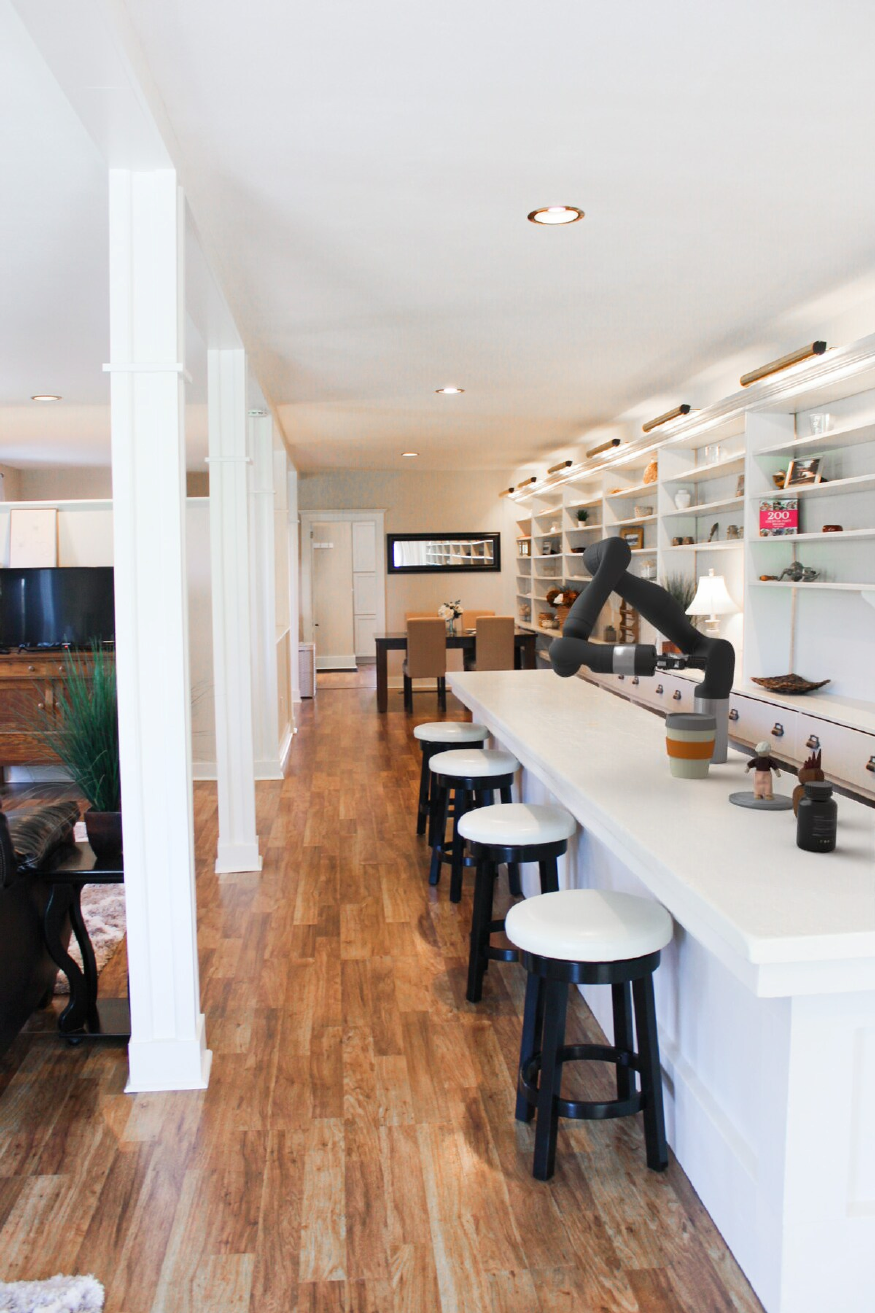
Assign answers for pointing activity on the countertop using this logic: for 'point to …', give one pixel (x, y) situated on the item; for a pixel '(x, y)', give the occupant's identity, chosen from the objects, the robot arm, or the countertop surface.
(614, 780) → the countertop surface
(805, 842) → the supplement bottle
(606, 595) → the robot arm
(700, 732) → the reusable coffee cup
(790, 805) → the slate coaster
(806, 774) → the wooden figurine
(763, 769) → the grandmother figurine
